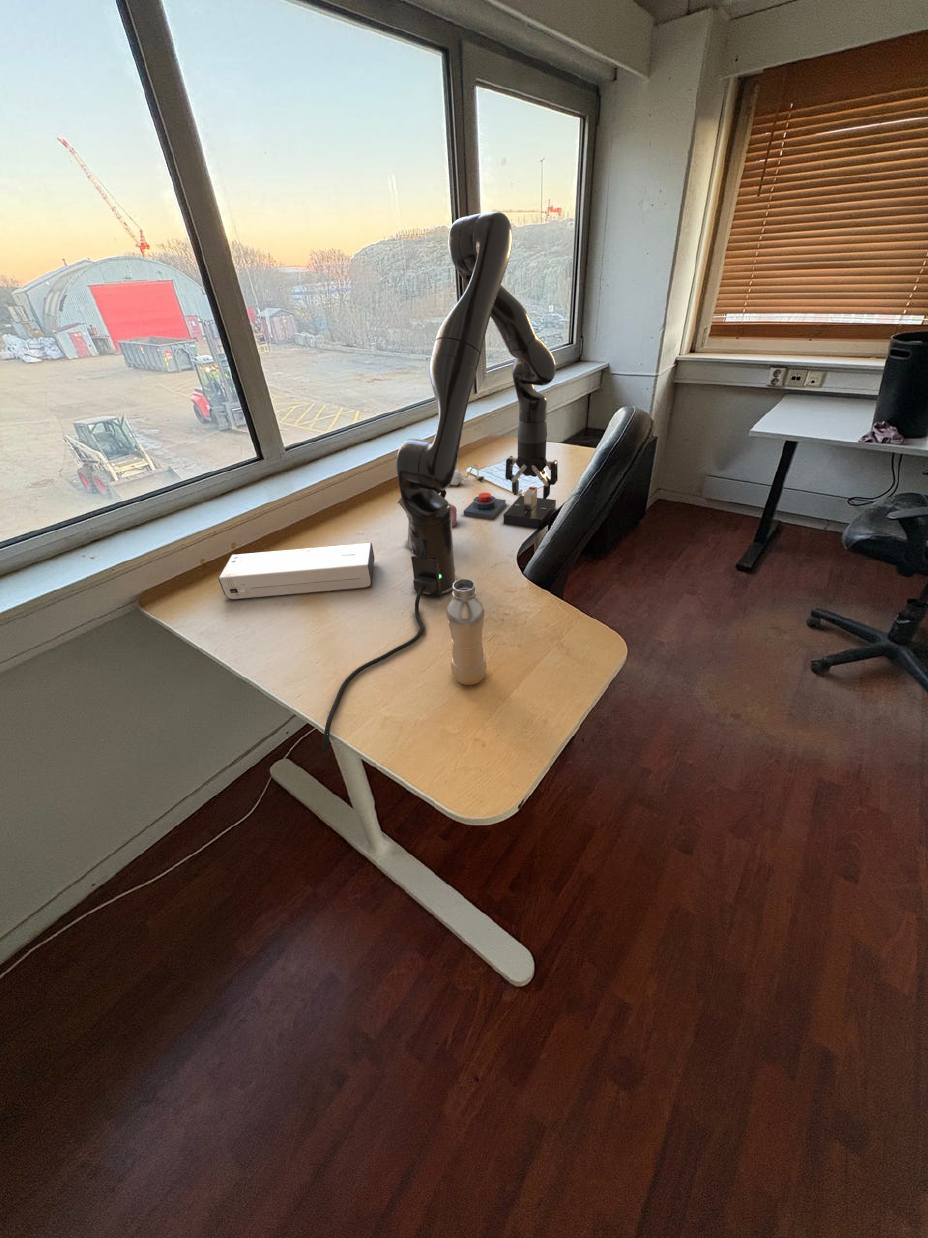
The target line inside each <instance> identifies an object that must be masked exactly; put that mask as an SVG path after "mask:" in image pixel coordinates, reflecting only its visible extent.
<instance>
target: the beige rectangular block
mask: <svg viewBox="0 0 928 1238" xmlns="http://www.w3.org/2000/svg"><path fill="white" fill-rule="evenodd" d="M523 496H524V510H529V511H531V510H532V509H533V508H534V507H535V505H536V504H537V498H538V487H536V486H529V487H528V489H527V490H526V491H525V492H524V493H523Z"/></svg>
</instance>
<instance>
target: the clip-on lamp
mask: <svg viewBox="0 0 928 1238" xmlns="http://www.w3.org/2000/svg"><path fill="white" fill-rule="evenodd" d="M475 467H476V476H477V481H482V480H484V479H485V476H483V475H481V476H480V475H479V467H478V464H476V463H475V464H473V465H472V467H470V470H469V472H468V473H467V475H463V474H462V473H461V471H460V470H459V469H456V470H455V474H454V477H453V479H452V481H451V483H450V485H451V486H458V485H459V484H460V483H462V482H463V480H464V479H466V478H468V477H469V476H470V475H471V473H472V471H473V469H474V468H475Z"/></svg>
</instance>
